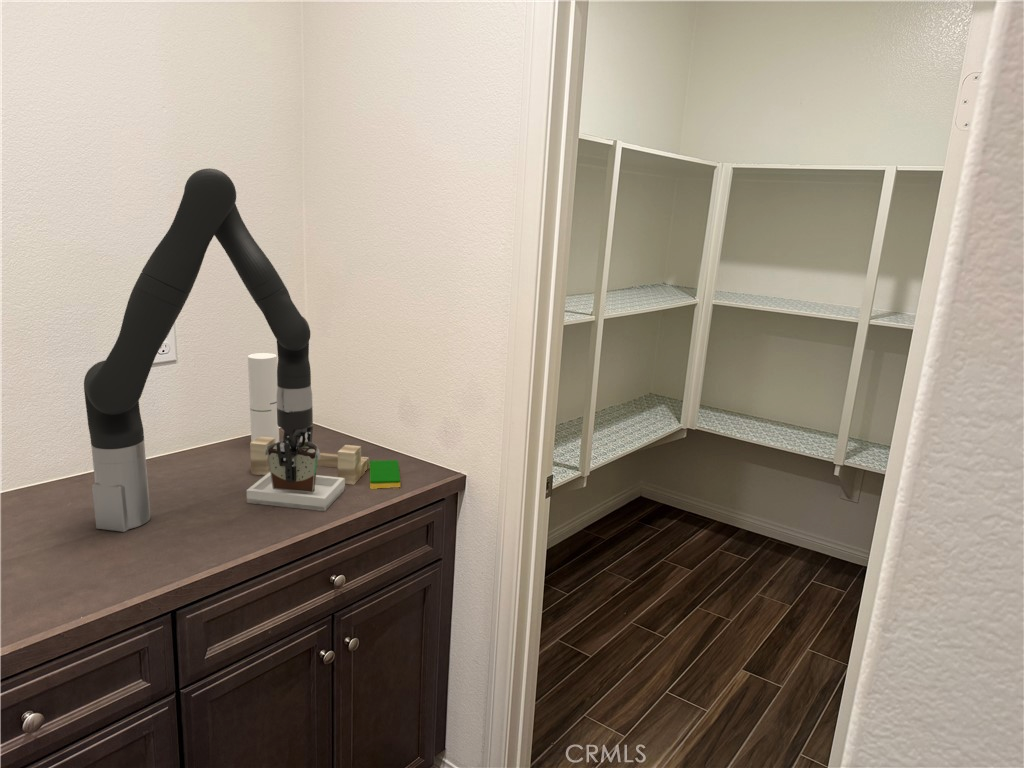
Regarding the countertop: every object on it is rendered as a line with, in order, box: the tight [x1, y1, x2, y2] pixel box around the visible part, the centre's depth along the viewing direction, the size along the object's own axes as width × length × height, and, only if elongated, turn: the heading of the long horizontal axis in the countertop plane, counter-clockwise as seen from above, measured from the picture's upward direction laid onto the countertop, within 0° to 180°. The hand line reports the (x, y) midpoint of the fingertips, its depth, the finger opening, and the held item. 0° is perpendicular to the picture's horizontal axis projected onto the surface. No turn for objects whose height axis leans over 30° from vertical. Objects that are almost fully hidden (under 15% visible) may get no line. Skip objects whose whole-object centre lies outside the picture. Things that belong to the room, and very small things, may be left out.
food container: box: [265, 442, 321, 493], centre depth 157 cm, size 12×6×10 cm, turn 84°
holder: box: [249, 437, 370, 486], centre depth 172 cm, size 11×26×8 cm, turn 83°
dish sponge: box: [369, 459, 401, 490], centre depth 172 cm, size 7×14×2 cm, turn 12°
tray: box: [246, 472, 346, 512], centre depth 158 cm, size 12×18×3 cm, turn 83°
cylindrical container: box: [247, 352, 280, 443], centre depth 186 cm, size 7×7×25 cm
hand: (296, 476), depth 157 cm, fingers closed on food container, 5 cm apart
